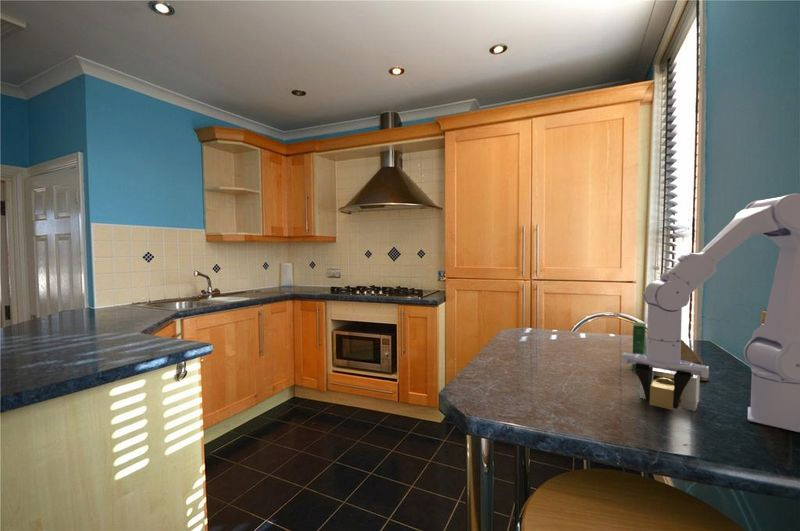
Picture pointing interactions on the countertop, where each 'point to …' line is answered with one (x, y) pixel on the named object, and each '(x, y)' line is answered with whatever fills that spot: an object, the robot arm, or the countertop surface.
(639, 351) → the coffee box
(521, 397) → the countertop surface
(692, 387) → the housing
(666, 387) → the gold rounded block
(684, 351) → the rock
